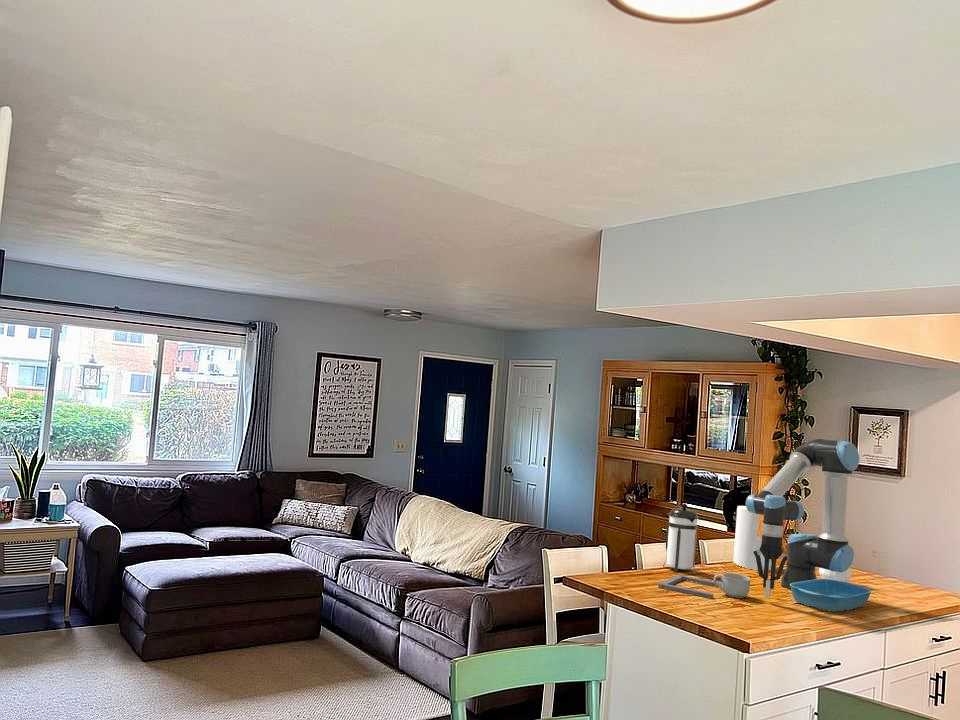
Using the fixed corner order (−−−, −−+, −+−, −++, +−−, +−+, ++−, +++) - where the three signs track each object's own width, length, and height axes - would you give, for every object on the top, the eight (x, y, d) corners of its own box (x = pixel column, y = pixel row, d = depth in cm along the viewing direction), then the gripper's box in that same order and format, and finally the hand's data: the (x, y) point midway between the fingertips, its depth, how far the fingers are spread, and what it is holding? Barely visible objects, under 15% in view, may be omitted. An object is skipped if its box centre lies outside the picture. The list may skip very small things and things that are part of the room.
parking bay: (729, 588, 323) (729, 584, 323) (711, 598, 300) (711, 594, 300) (678, 578, 334) (679, 574, 334) (658, 587, 312) (658, 583, 312)
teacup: (749, 595, 312) (750, 575, 313) (749, 601, 302) (750, 580, 302) (713, 590, 317) (714, 570, 317) (711, 595, 307) (713, 574, 307)
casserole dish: (834, 617, 290) (836, 597, 290) (779, 601, 307) (780, 583, 308) (879, 607, 313) (880, 589, 314) (824, 593, 331) (826, 576, 331)
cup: (818, 582, 352) (820, 551, 353) (818, 577, 365) (820, 547, 366) (851, 588, 347) (853, 556, 348) (849, 582, 360) (851, 552, 360)
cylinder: (736, 568, 370) (740, 508, 372) (730, 561, 387) (734, 504, 389) (774, 572, 368) (778, 512, 369) (767, 565, 385) (770, 508, 386)
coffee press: (701, 570, 356) (706, 504, 357) (690, 575, 342) (695, 506, 344) (664, 563, 365) (669, 499, 367) (652, 568, 351) (657, 501, 353)
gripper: (752, 533, 304) (748, 594, 302) (788, 539, 297) (783, 602, 295) (757, 531, 310) (752, 591, 309) (791, 537, 303) (787, 598, 302)
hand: (767, 596), depth 302 cm, fingers closed
